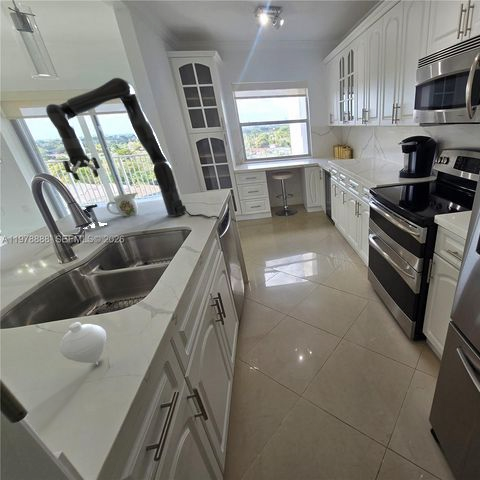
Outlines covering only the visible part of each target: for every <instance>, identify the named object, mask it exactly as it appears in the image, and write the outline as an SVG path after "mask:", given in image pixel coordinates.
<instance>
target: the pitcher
mask: <svg viewBox="0 0 480 480" xmlns="http://www.w3.org/2000/svg"><path fill="white" fill-rule="evenodd" d="M138 194H139V193H138V192H132V193H125V194H120V195H117V196H113V197H112V199H113V200H114V201H109V202H107V203H106V209H107V211H108V212H109V213H110V214H112V215H116V216H119V215H121V216H122V217H131V216H133V217H136V216H138V212H139V207H138V203H137V201H136V196H137V195H138ZM110 205H114V206H115V208H116V210H117V212H116V211H112V209H111V208H110Z"/></svg>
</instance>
